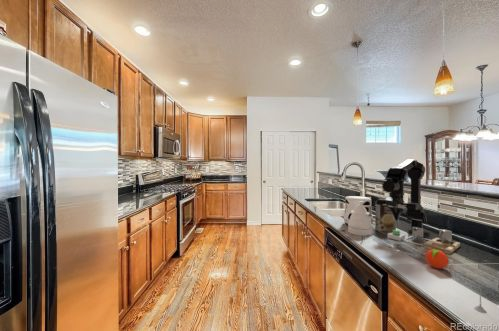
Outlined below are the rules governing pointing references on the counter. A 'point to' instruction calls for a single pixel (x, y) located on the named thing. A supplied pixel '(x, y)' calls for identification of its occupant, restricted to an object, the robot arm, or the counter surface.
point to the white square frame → (400, 237)
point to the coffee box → (384, 219)
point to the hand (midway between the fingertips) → (396, 220)
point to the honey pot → (360, 221)
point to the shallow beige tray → (441, 246)
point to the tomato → (437, 258)
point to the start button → (396, 232)
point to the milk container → (353, 202)
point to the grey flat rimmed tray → (413, 242)
